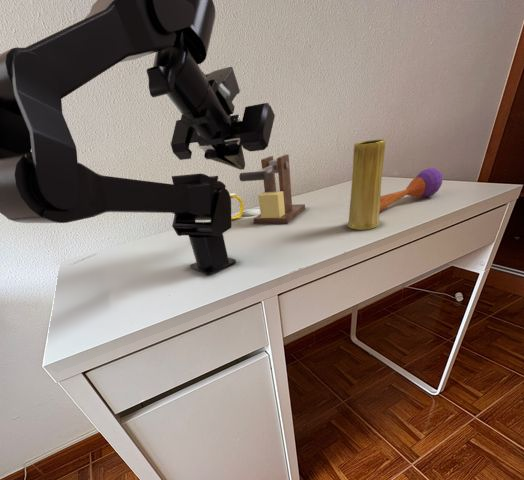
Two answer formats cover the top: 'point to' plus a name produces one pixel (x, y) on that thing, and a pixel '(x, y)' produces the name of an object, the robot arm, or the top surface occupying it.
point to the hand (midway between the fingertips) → (243, 167)
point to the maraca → (416, 187)
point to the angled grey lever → (260, 172)
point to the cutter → (284, 185)
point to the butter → (272, 204)
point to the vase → (366, 184)
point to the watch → (240, 206)
